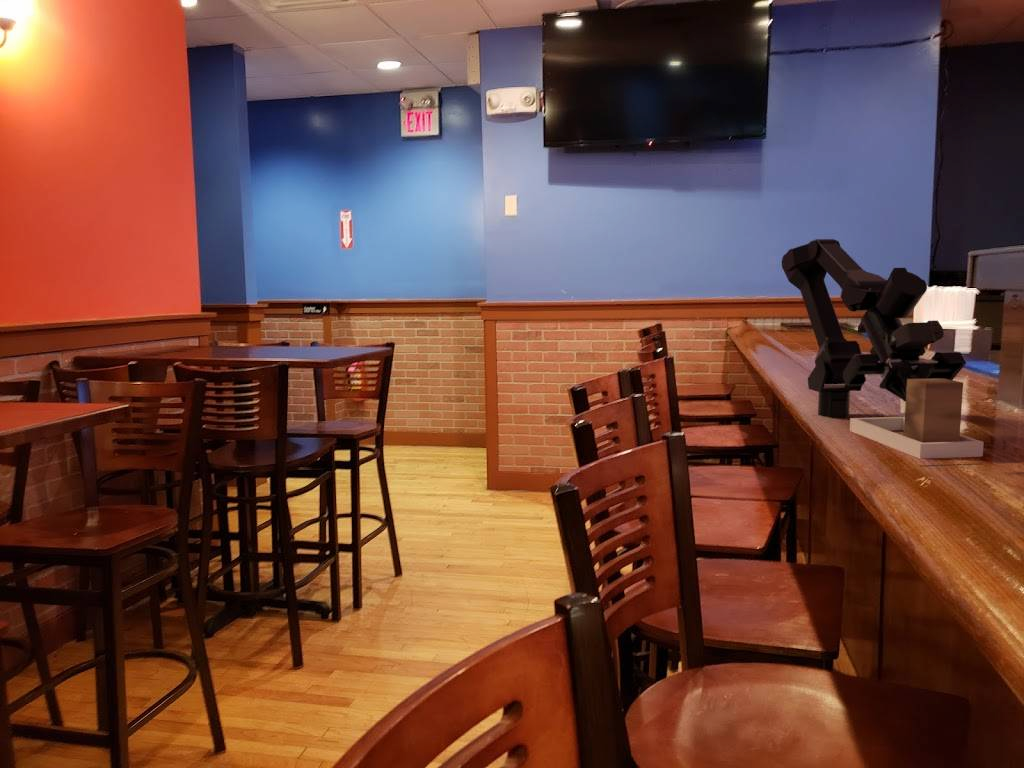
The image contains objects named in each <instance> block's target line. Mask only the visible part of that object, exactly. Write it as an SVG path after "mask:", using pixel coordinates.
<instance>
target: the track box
mask: <svg viewBox="0 0 1024 768" xmlns="http://www.w3.org/2000/svg"><path fill="white" fill-rule="evenodd" d="M904 424H905V416H887V417H886V416H884V417H883V416H882V417H854V418H853V417H851V418H849V432H852V433H855V434H857V435H860V436H862V437H864V438H866V439H870V440H872V441H875V442H877V443H880V444H882V445H885V446H887V447H890V448H892V449H895V450H898V451H900V452H902V453H905V454H908V455H911V456H913V457H915V458H918V459H920V460H921V459H922V460H923V459H943V458H945V459H946V458H947V459H948V458H949V459H950V458H975V457H976V458H977V457H978V458H979V457H980V458H981V457H983V456H984V442H985V441H982V440H979V439H975V438H972V437H969V436H966V435H963V434H960V438H959V442H930V443H922V442H919V441H916V440H914V439H911V438H908V437H905V436H904V434H903V435H902V434H900V433H897V432H894V431H903V432H904ZM972 465H973V466H974V465H975V466H977V465H983V463H979V462H978V463H959V464H958V463H957V464H956V463H954V464H953V463H952V464H928V465H926V464H925V465H920V466H921V467H945V466H947V467H948V466H950V467H951V466H972ZM921 467H920V468H921Z"/></svg>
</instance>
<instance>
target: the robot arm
mask: <svg viewBox="0 0 1024 768" xmlns="http://www.w3.org/2000/svg"><path fill="white" fill-rule="evenodd" d="M781 268H782V271H784V274H785V276H786V279H787V280H788V282H789V283H790V284H791V285H793V286H794V287H795V288H796V289H798V290H799V291H800V294H801V297H802V300H803V303H804V306H805V309H806V313H807V315H808V318H809V321H810V324H811V326H812V330H813V333H814V336H815V340H816V342H817V345H818V351H817V353H816V357H815V359H814V364H815V366H814V368H813V369H812V371H811V373H810V374H809V376H808V377H807V385H808V390H811V391H814V392H818V400H817V401H818V402H817V403H818V404H817V416H821V417H823V418H824V417H825V418H830V419H847V418H848V417H849V416H850V401H851V391H852V392H853V391H856V392H861V391H862V387H863V386H864V384H865V383H866V382H867V378H866V375H868V376H869V377H870V376H880V377H881V382H880V383H879V385H878V386H879V388H880V389H883V390H886V391H888V392H889V393H891V394H893V395H894V396H896V397H898V398H899V399H900V398H901V399H902V400H903V401H905V402H906V389H907V379H931V378H944V379H949V380H954V379H955V377H957V376H958V374H959V373H960V371H961V370H962V369H963V368H964V367H965V366H966V364H967V361H966V359H965V358H964V356H963V354H962V353H961V352H960V351H936V352H935V354H934V355H933V356H932V358H930V359H920V358H919V357H921V356H922V357H923V356H924V355H925V353H926V352H927V351H926V348H925V347H927V346H929V345H931V344H934V343H936V342H938V341H939V340H941V339H943V338H944V335H945V332H944V330H943V326H942V325H941V323H940V322H939V320H927V321H925V322H924V321H923V322H909V323H904V324H903V323H902V321H901V319H902V318H906V317H909V316H910V315H911V313H912V312H913V310H914V309H915V308H916V307H917V305H918V303H919V302H920V300H921V299H922V298H923V296H924V294H925V293H926V292H927V290H928V285H927V283H926V281H925V279H922V278H921V277H920V276H919V275H917V274H915V273H912V272H910V271H908V270H907V268H906V267H894V268H893V269H892V270H891V272H890V274H889V277H888V279H887V278H886V279H885V278H884V277H882V276H880V275H879V274H875V273H872V272H870V271H869V272H868V271H866V270H865V269H863V268H862V267H861V266H860V265H859V264H858V263H857V262H856V261H855V259H853V258H852V257H851V256H850V255H849V254H848V252H846V251H845V249H843V248H842V247H841V244H840V242H839V240H836V239H834V238H816V239H814V240H811V241H809V242H808V243H806V244H803V245H800V246H796V247H794V248H789V249H788V250H787V252H786V253H785V254H783V256H782V258H781ZM827 274H828V275H829V276H830V277H831V278H832V280H833V281H834V282H835V283H836V284H837V285H838V286H839V287H840V289H841V293H840V299H841V300H842V302H843V304H844V305H845V307H846V308H847V310H849V311H850V312H854V313H855V312H865V313H864V314H863V316H862V317H861V319H860V323H859V324H858V326H857V333H859V334H862V333H863V334H866V335H867V337H868V338H869V341H870V343H871V348H870V349H869V353H862V351H861V347H860V344H859V343H858V341H857V340H847V339H846V338H845V335H844V334H843V331H842V327H841V324H840V322H839V318H838V316H837V313H836V310H835V307H834V305H833V302H832V299H831V296H830V293H829V290H828V287H827V285H826V283H825V282H826V281H825V278H826V275H827ZM812 416H813V417H814V414H812Z"/></svg>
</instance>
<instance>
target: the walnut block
mask: <svg viewBox="0 0 1024 768" xmlns="http://www.w3.org/2000/svg"><path fill="white" fill-rule="evenodd" d="M963 389H964V382H962V381H957V380H954V379H953V380H949V379H944V378H931V379H907V389H906V407H905V413H904V417H905V424H904V431H903V436H905V437H908V438H911V439H914V440H916V441H919V442H922V443H930V442H959V438H960V435H961V423H962V422H961V421H962V410H963V409H962V407H963V406H962V405H963V395H964V393H963V391H964V390H963Z"/></svg>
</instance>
